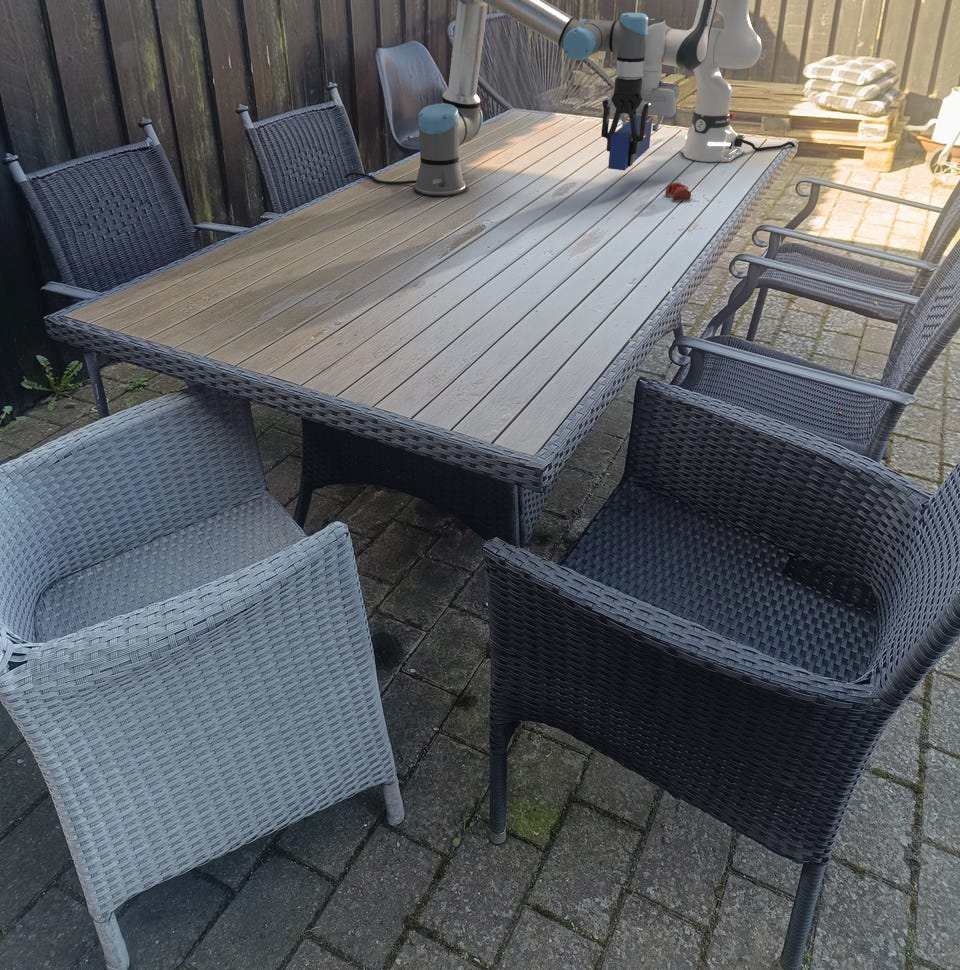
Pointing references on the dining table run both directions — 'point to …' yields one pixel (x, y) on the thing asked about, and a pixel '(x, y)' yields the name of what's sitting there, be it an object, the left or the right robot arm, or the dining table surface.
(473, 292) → the dining table surface
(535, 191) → the dining table surface
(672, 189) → the dental model
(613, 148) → the bar
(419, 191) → the left robot arm
